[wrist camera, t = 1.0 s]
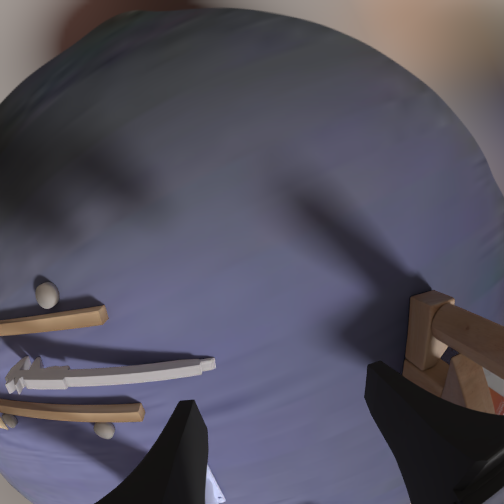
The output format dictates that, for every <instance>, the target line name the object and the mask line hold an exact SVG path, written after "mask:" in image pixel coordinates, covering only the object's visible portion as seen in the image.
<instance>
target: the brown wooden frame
mask: <svg viewBox="0 0 504 504" xmlns="http://www.w3.org/2000/svg"><path fill="white" fill-rule="evenodd" d="M454 302H455V299H454V298H453V297H450V296H448V295H445V294H443V293H440V292H438V291H435V290H432V291H428V292H425V293H421V294H418V295H414V296H411V298H410V310H409V323H408V334H407V344H406V352H405V357H406V359H405V360H404V366H403V372H402V376H404V377H405V378H407V379H408V380H410V381H411V382H413V383H415V384H416V385H418V386H420V387H421V388H423V389H425V390H426V391H428V392H430V393H432V394H434V395H436V396H438V397H440V398H442V399H444V400H447V401H449V402H452V403H454V404H457V405H459V406H462V407H466V408H469V409H472V410H476V411H480V412H485V413H490V414H495V410H494V406H493V402H492V398H491V394H490V390H489V387H488V383H487V380H486V377H485V373H484V370H483V367H484V368H485V369H487V370H489V371H490V372H492V373H493V374H495V375H497V376H498V377H500V378H501V379H503V380H504V326H501V325H499V324H497V323H495V322H492V321H490V320H488V319H485V318H483V317H481V316H478V315H476V314H474V313H471V312H469V311H467V310H464V309H462V308H460V307H457V306H455V305H454ZM448 346H449V347H451V348H452V349H454V350H456V351H457V352H459V354H457V355H455V356H453V357H452V358H451V360H450V365H449V364H447V363H446V362H444V361H443V360H441V359H440V358H441V356H442V355H443V353H444V352H445V350H446V349H447V347H448Z"/></svg>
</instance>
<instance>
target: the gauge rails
mask: <svg viewBox="0 0 504 504" xmlns="http://www.w3.org/2000/svg"><path fill="white" fill-rule="evenodd" d="M36 299H37V302H38V303H39V305H40V306H41V307H43V308H45V309H49V308H51V307H53V306H54V305H56V304H57V303H58V301H59V291H58V289H57V287H56V286H55V285H54V284H53V283H51V282H45V283H43V284H41V285H39V286H38V287H37V289H36ZM108 319H109V318H108V315H107V311H106V308H105V305H102V306H96V307H90V308H83V309H77V310H71V311H64V312H57V313H51V314H44V315H37V316H30V317H23V318H15V319H8V320H0V336H6V335H17V334H28V333H38V332H48V331H57V330H66V329H74V328H82V327H90V326H97V325H103V324H104V323H105V322H106V321H107V320H108ZM0 412H1V413H4V414H3V415H2V418H1V417H0V428H3V429H7V430H8V428H7V426H6V425H5V423H6V424H7V425H8V426H9V427H11V428H14V427H15V426H16V424H17V423H18V421H17V419H16V417H15V416H14V415H18V416H25V417H32V418H40V419H49V420H61V421H76V422H96V423H95V425H94V431H95V433H96V434H97V435H98V436H100V437H102V438H105V439H111V438H112V437H113V434H114V432H115V427H114V425H113V424H112V423H111V422H141V421H143V419H144V415H145V410H144V408H143V406H142V404H141V403H134V404H112V405H66V404H46V403H33V402H22V401H13V400H6V399H0ZM2 419H3V420H4V422H5V423H4V422H3V420H2Z"/></svg>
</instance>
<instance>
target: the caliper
mask: <svg viewBox="0 0 504 504" xmlns="http://www.w3.org/2000/svg"><path fill="white" fill-rule="evenodd" d="M30 366H31V367H30ZM29 367H30V369H29ZM43 367H44V366H43V363H42V360H41V357H37V358H36V359H35V360H34V362H33V363H32V365H31V362H30V359H29V356H26V357H24V358H22V359H21V360H20V361H19V362H18V363H17V364H16V365H14V366H13V367H12V368H11V370H10V371H9V373H8V374H7V376H6V377H5V379H6V382H7V383H6V384H5V385H6V387H7V390H8V392H9V394H10V393H12V392H14V391H15V390H16V389H17V391H18V394H20V393H21V391H22V389H23V388H24V387H25V386H26V387H27V389H67V388H68V387H79V386H103V385H119V384H131V383H142V382H151V381H160V380H168V379H175V378H182V377H189V376H195V375H202V371H208V370H213V369H214V368H216V365H215V358H206V359H201V360H199V359H186V360H175V361H168V362H160V363H152V364H143V365H133V366H123V367H110V368H95V369H73V370H70V368H69V366H62V367H59V366H53V367H47V368H43ZM28 369H29V370H28Z"/></svg>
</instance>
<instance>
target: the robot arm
mask: <svg viewBox="0 0 504 504" xmlns="http://www.w3.org/2000/svg"><path fill="white" fill-rule="evenodd" d="M364 398H365V400H366V403H367V405H368V408H369V410H370V413H371V415H372V417H373V419H374V421H375V422H376V424H377V426H378V428H379V429H380V431H381V433H382V435H383V436H384V438H385V440H386V442H387V443H388V445H389V447H390V449H391V450H392V452H393V454H394V456H395V458H396V461H397V463H398V466H399V468H400V471H401V473H402V476H403V479H404V482H405V485H406V488H407V491H408V494H409V498H410V501H411V504H504V415H497V414H490V413H485V412H480V411H476V410H472V409H469V408H466V407H462V406H459V405H457V404H454V403H452V402H449V401H447V400H444V399H442V398H440V397H438V396H436V395H434V394H432V393H430V392H428V391H426V390H425V389H423V388H421V387H420V386H418V385H416V384H415V383H413V382H411V381H410V380H408V379H407V378H405V377H404V376H402V375H401V374H399V373H398V372H396V371H395V370H393V369H392V368H390V367H389V366H388V365H386V364H385V363H383V362H382V361H378V362H375V363H372V364H369V365H368V366H367V377H366V387H365V395H364ZM207 462H208V431H207V427H206V425H205V423H204V420H203V418H202V416H201V414H200V412H199V409H198V407H197V405H196V403H195V400H184V401H180V402H179V403H178V404H177V406H176V408H175V410H174V412H173V414H172V416H171V417H170V419H169V421H168V423H167V424H166V426H165V428H164V429H163V431H162V433H161V434H160V436H159V437H158V439H157V441H156V442H155V444H154V445H153V446H152V448H151V449H150V451H149V452H148V453H147V455H146V456H145V457H144V459H143V460H142V461H141V462H140V464H139V465H138V466H137V467H136V468H135V469H134V471H133V472H132V473H131V474H130V475H129V476H128V477H127V478H126V479H125V480H124V481H123V482H122V483H121V484H119V485H118V486H117V487H116V488H115V489H114V490H112V491H111V492H110V493H108V494H107V495H106V496H105V497H103V498H102V499H101V500H99V501H98V502H96V503H94V504H218V503H222V502H225V497H224V495H223V494H222V492H221V490H220V488H219V486H218V484H217V482H216V480H215V478H214V476H213V474H212V472H211V470H210V468H209V466H208V464H207Z"/></svg>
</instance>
